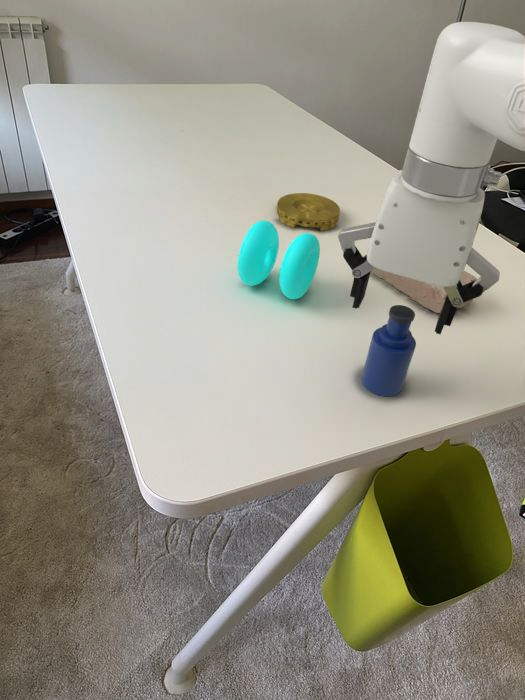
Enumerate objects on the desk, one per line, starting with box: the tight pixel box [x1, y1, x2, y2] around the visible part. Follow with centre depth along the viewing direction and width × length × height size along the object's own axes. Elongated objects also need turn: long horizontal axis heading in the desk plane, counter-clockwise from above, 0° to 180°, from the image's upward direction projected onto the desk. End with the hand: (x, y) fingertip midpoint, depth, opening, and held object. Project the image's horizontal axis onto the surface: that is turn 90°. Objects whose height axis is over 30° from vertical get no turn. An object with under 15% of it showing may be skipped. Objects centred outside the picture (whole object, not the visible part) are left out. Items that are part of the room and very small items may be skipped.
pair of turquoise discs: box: [237, 220, 321, 300], centre depth 82 cm, size 10×10×10 cm
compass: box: [276, 192, 341, 232], centre depth 106 cm, size 12×12×2 cm
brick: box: [371, 268, 478, 314], centre depth 88 cm, size 17×8×5 cm, turn 35°
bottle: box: [361, 304, 417, 397], centre depth 67 cm, size 5×5×11 cm
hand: (397, 314), depth 64 cm, fingers open, 9 cm apart
